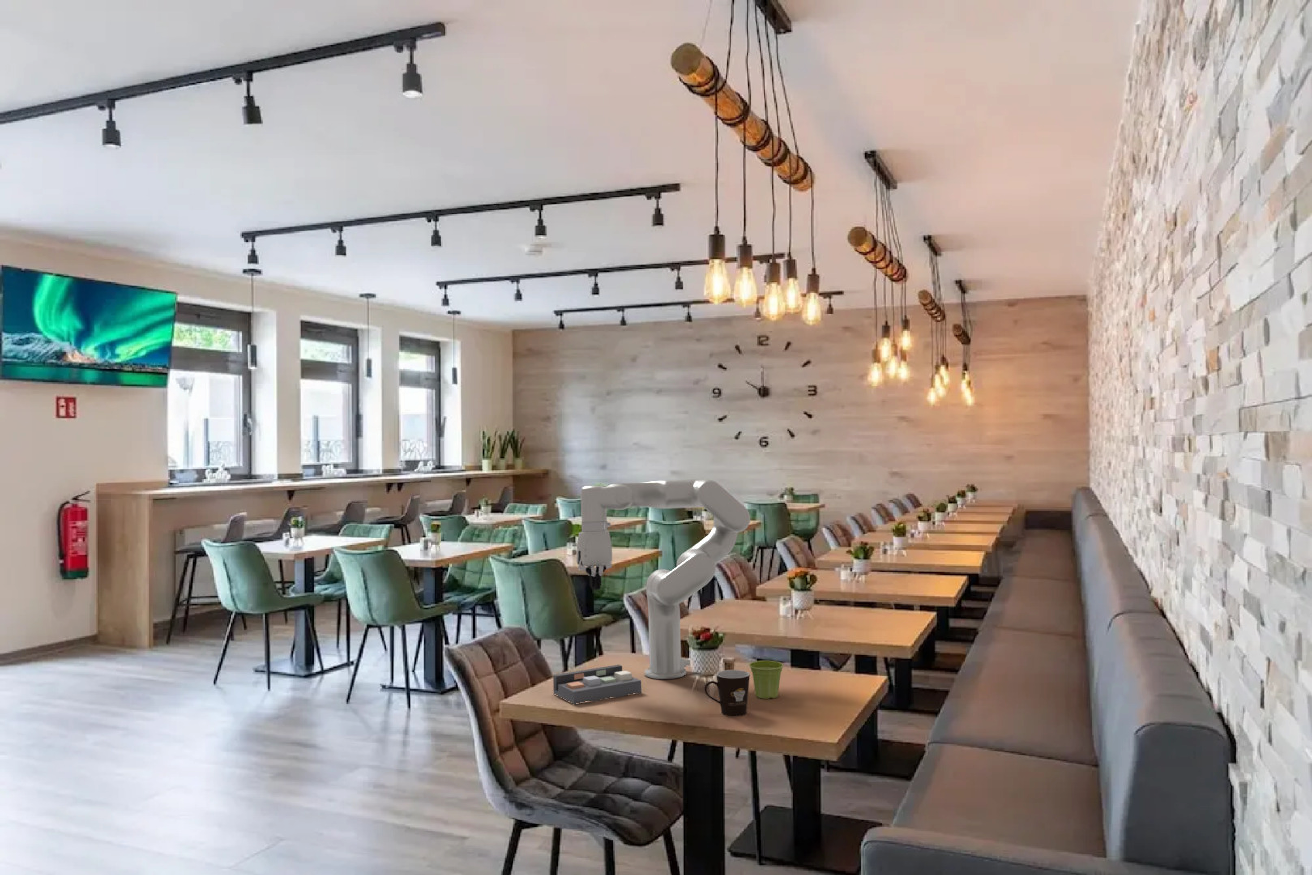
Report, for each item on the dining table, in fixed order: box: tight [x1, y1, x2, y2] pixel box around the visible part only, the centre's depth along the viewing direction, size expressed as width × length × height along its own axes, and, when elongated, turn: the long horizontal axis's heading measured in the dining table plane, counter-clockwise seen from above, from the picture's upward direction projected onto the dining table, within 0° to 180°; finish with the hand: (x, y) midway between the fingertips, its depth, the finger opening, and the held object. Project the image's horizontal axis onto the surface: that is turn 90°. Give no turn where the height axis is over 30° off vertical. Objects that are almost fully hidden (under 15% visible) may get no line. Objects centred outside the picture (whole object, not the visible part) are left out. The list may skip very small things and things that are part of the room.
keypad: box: [552, 664, 642, 705], centre depth 266 cm, size 21×13×6 cm, turn 121°
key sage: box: [600, 676, 616, 684], centre depth 266 cm, size 4×4×2 cm
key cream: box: [614, 670, 633, 681], centre depth 268 cm, size 4×4×2 cm
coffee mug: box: [704, 669, 751, 717], centre depth 244 cm, size 12×9×10 cm
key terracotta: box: [567, 682, 584, 689], centre depth 261 cm, size 4×4×2 cm
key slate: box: [583, 676, 600, 686], centre depth 263 cm, size 4×4×2 cm
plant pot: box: [748, 660, 784, 700], centre depth 259 cm, size 9×9×9 cm
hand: (595, 588), depth 281 cm, fingers closed
